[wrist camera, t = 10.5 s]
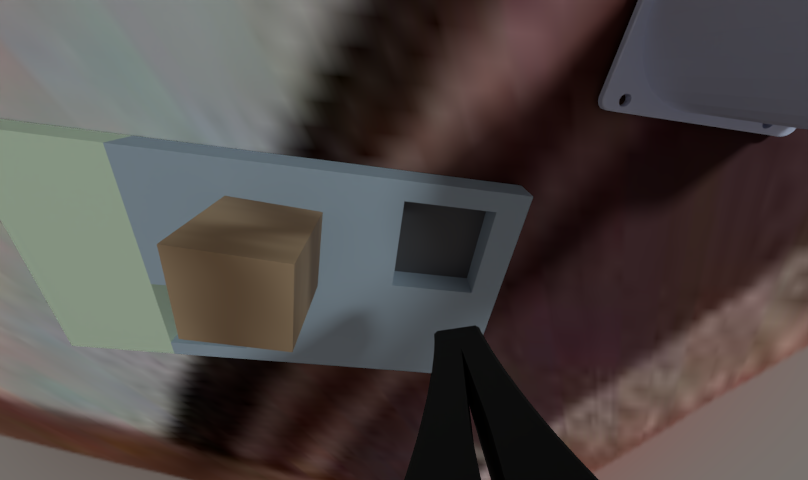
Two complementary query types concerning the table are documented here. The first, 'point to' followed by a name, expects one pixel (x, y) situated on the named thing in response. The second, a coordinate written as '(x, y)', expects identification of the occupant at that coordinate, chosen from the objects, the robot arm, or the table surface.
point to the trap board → (266, 182)
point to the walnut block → (243, 273)
